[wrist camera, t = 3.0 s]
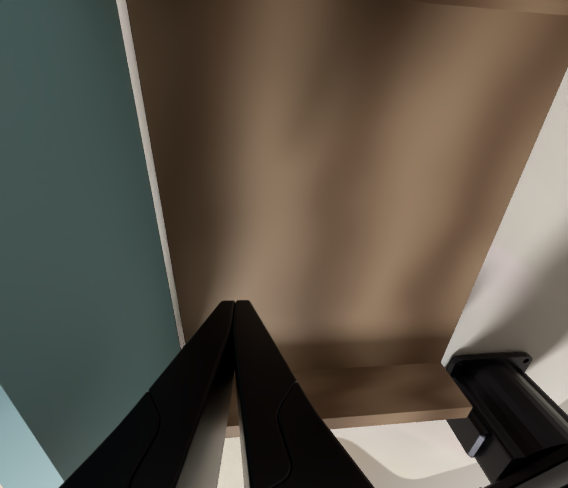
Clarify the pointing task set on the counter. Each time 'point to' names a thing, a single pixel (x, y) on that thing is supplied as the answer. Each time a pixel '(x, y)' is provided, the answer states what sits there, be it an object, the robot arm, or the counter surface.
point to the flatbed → (344, 175)
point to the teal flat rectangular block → (73, 241)
